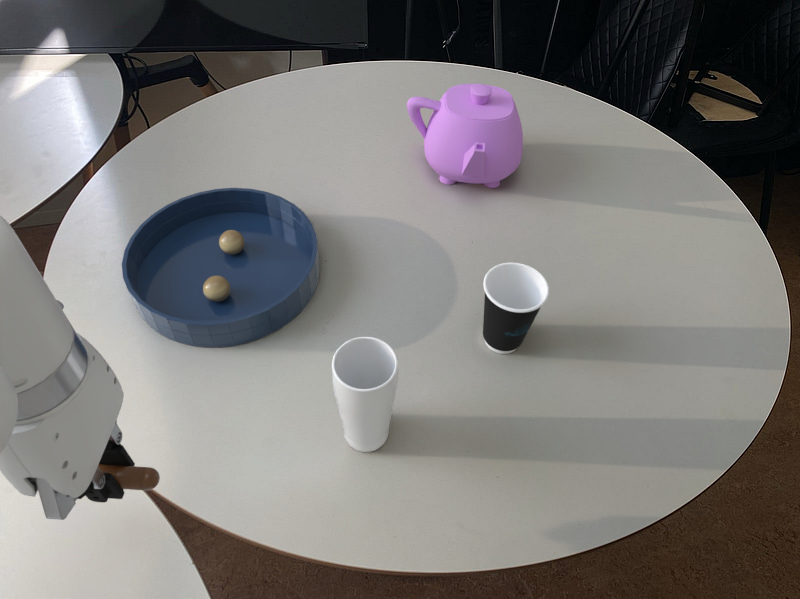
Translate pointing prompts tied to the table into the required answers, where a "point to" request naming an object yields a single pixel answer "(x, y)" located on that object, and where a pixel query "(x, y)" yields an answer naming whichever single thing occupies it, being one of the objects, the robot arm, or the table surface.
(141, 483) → the stick
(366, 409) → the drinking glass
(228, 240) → the bead
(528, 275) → the dixie cup
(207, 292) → the bead
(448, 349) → the table surface
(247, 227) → the tray
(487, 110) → the teapot
